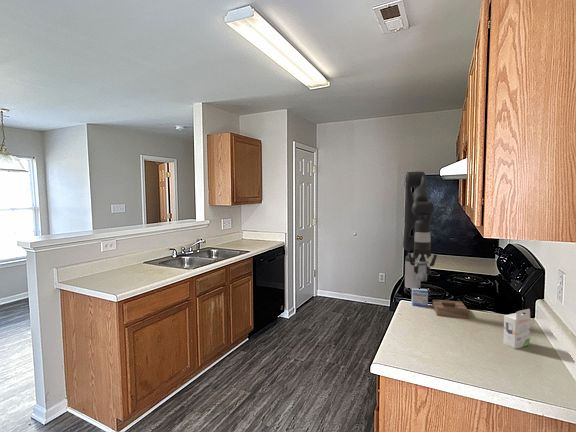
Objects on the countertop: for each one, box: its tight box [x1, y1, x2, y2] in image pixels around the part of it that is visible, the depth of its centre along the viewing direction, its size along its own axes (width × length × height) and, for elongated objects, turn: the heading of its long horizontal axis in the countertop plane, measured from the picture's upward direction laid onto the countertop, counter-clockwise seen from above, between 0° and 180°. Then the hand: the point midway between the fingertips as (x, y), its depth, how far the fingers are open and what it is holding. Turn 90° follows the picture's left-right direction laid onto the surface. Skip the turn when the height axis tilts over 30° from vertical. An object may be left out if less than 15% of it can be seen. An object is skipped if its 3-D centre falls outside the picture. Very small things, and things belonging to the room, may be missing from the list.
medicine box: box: [411, 288, 429, 308], centre depth 173 cm, size 8×4×9 cm, turn 73°
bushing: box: [417, 260, 428, 282], centre depth 164 cm, size 6×6×10 cm
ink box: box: [503, 308, 531, 350], centre depth 126 cm, size 9×5×15 cm, turn 111°
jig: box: [431, 299, 470, 319], centre depth 162 cm, size 14×14×4 cm
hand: (421, 273), depth 164 cm, fingers closed on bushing, 4 cm apart
